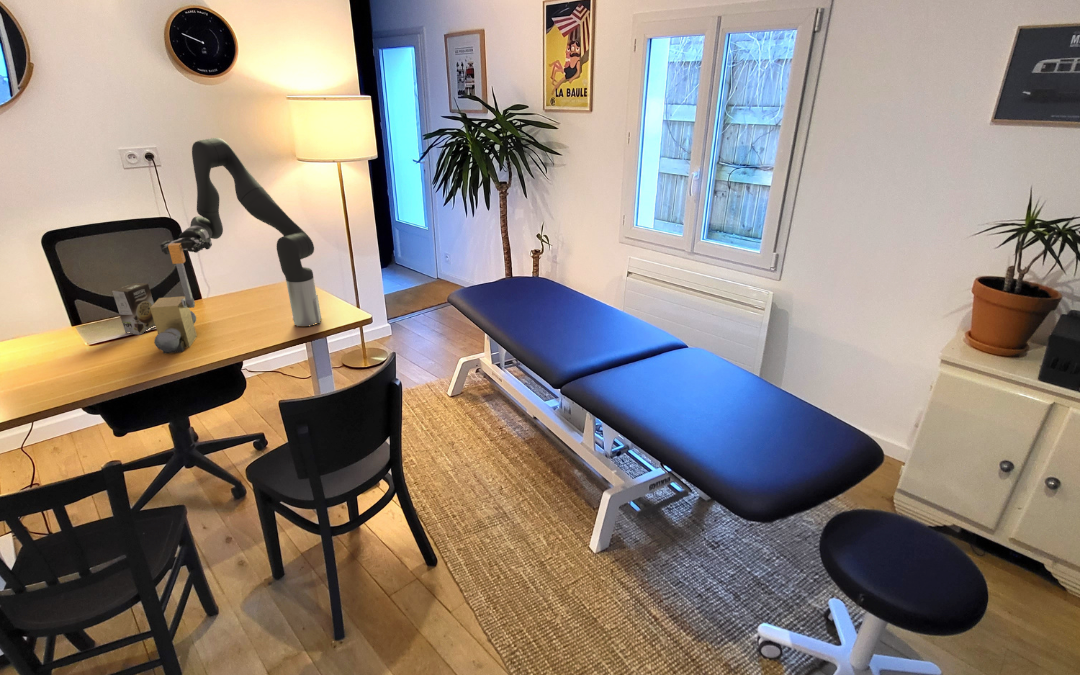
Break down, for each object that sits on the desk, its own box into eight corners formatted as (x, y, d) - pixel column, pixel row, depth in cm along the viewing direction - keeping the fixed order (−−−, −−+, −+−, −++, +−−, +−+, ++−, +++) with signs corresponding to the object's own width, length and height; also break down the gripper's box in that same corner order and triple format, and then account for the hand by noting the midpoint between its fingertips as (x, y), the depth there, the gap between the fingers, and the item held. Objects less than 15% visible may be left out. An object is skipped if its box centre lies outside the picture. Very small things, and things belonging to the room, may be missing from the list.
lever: (197, 305, 187) (181, 242, 178) (195, 308, 184) (178, 245, 175) (187, 306, 186) (170, 243, 177) (185, 309, 183) (167, 245, 174)
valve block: (204, 329, 199) (193, 288, 192) (187, 354, 180) (174, 310, 174) (176, 331, 197) (164, 290, 190) (156, 357, 178) (142, 313, 172)
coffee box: (140, 335, 194) (126, 291, 187) (124, 333, 195) (110, 290, 188) (161, 325, 202) (148, 283, 195) (146, 323, 203) (133, 281, 196)
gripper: (168, 228, 191) (152, 240, 177) (214, 226, 195) (201, 237, 181) (174, 250, 194) (158, 263, 180) (219, 247, 198) (207, 260, 184)
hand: (180, 250), depth 180 cm, fingers open, 8 cm apart
